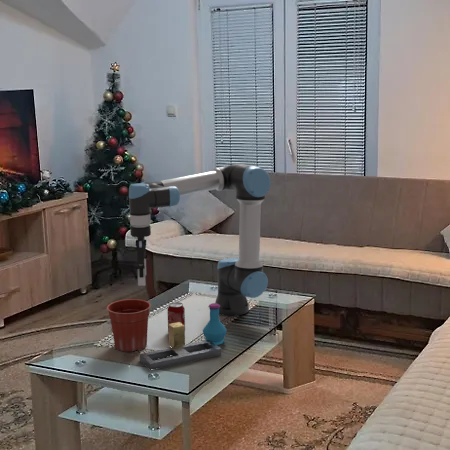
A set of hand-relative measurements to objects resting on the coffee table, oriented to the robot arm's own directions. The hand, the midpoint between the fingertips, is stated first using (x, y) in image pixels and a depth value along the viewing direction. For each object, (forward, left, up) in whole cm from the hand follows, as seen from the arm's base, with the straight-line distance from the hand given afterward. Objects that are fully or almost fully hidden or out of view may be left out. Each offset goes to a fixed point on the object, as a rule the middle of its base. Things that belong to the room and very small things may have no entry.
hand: (142, 280), depth 267 cm
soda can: (-15, -3, -25) cm, 30 cm away
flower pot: (+6, +1, -25) cm, 26 cm away
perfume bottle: (-24, +13, -25) cm, 37 cm away
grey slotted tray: (-6, +21, -25) cm, 33 cm away
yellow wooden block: (-9, +11, -25) cm, 29 cm away
